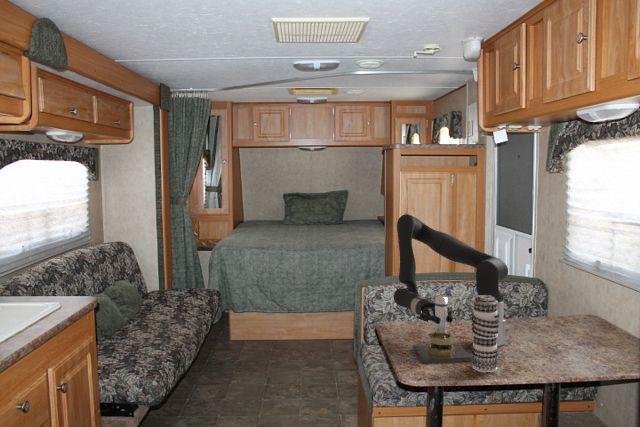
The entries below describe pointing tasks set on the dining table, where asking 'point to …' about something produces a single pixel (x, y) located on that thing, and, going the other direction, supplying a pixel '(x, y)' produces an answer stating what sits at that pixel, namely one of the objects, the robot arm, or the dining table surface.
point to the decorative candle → (485, 333)
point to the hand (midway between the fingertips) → (445, 320)
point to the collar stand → (441, 351)
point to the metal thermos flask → (441, 319)
